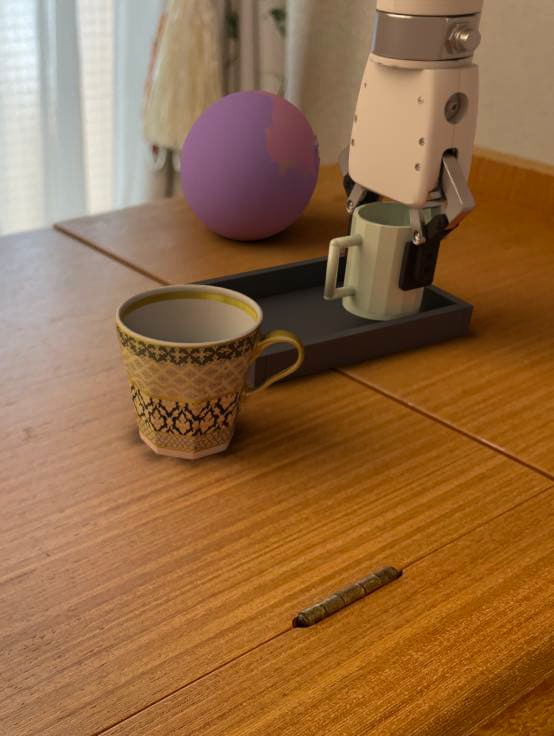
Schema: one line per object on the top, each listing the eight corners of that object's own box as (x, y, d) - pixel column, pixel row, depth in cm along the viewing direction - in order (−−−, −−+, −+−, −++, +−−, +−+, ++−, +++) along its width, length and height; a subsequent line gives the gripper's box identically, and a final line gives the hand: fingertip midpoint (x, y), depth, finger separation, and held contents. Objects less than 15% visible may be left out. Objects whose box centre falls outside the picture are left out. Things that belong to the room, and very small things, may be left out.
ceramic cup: (101, 464, 62) (94, 334, 56) (143, 398, 70) (140, 277, 63) (281, 493, 59) (294, 359, 53) (305, 421, 67) (318, 296, 60)
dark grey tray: (358, 278, 89) (362, 248, 87) (466, 338, 77) (474, 305, 76) (166, 319, 82) (165, 287, 80) (253, 392, 70) (255, 357, 68)
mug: (387, 285, 81) (402, 197, 76) (436, 312, 76) (455, 219, 71) (300, 304, 78) (309, 213, 73) (345, 333, 73) (358, 238, 68)
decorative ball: (320, 260, 93) (337, 107, 84) (179, 261, 93) (180, 108, 84) (304, 215, 105) (317, 76, 95) (179, 216, 105) (180, 78, 96)
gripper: (549, 51, 60) (490, 299, 71) (391, 20, 72) (361, 235, 83) (464, 61, 57) (416, 317, 68) (315, 27, 70) (295, 248, 81)
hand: (386, 270), depth 76 cm, fingers closed on mug, 6 cm apart
